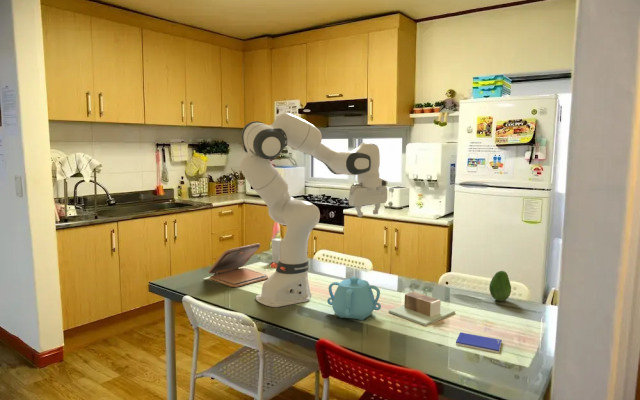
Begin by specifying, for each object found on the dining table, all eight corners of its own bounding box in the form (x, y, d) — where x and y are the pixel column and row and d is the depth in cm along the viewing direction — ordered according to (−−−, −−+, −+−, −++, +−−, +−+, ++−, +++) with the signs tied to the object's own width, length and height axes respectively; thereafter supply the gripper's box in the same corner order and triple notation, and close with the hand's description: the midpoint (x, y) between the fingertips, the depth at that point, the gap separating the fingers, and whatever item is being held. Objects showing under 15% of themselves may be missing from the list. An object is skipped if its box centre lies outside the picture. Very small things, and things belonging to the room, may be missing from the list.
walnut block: (404, 307, 165) (431, 317, 156) (404, 294, 165) (432, 303, 156) (412, 304, 169) (440, 313, 160) (413, 291, 168) (440, 300, 159)
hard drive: (501, 339, 138) (460, 331, 144) (499, 349, 131) (455, 341, 137) (501, 344, 139) (460, 336, 144) (499, 354, 131) (455, 346, 137)
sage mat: (425, 325, 151) (425, 323, 151) (388, 312, 163) (388, 310, 163) (455, 313, 162) (455, 310, 162) (418, 301, 174) (418, 299, 174)
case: (243, 270, 217) (242, 237, 215) (271, 279, 203) (270, 244, 201) (206, 279, 203) (205, 244, 201) (233, 289, 188) (232, 252, 186)
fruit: (510, 299, 178) (512, 269, 176) (510, 305, 171) (511, 274, 169) (489, 296, 181) (491, 267, 180) (487, 302, 174) (489, 272, 172)
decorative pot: (384, 319, 156) (385, 282, 154) (342, 326, 150) (343, 286, 149) (363, 304, 171) (364, 269, 169) (324, 309, 165) (325, 273, 164)
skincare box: (285, 263, 230) (285, 239, 228) (278, 264, 227) (278, 241, 225) (278, 260, 234) (278, 237, 233) (271, 261, 231) (271, 238, 230)
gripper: (356, 184, 177) (355, 218, 178) (390, 181, 190) (389, 213, 192) (345, 183, 181) (344, 216, 183) (379, 180, 195) (378, 212, 196)
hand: (367, 215), depth 187 cm, fingers open, 8 cm apart
